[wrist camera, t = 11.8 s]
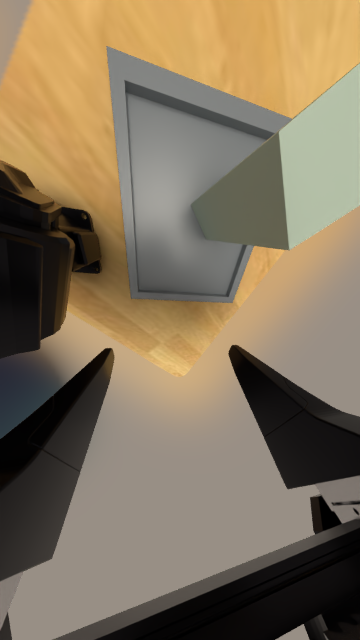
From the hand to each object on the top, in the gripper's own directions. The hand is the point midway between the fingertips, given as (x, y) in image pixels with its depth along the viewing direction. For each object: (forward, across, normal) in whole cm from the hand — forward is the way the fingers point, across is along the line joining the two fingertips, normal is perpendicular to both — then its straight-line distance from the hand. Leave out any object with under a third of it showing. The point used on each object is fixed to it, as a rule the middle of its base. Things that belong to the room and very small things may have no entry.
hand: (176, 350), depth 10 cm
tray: (+13, -3, -8) cm, 16 cm away
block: (+12, -5, -10) cm, 16 cm away
